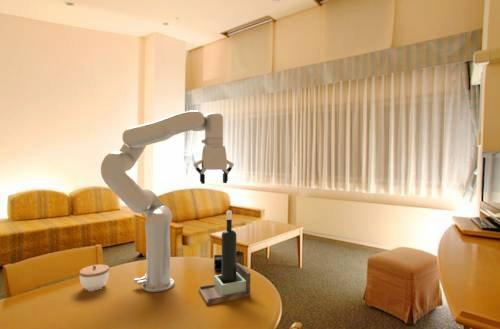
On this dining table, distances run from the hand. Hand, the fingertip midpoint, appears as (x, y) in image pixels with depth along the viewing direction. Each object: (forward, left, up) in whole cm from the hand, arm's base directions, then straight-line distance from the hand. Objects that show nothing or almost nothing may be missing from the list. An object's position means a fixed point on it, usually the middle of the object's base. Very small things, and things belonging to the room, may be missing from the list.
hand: (214, 183), depth 124 cm
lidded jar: (-46, +14, -42) cm, 64 cm away
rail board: (+1, -12, -42) cm, 44 cm away
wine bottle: (+3, -12, -40) cm, 42 cm away
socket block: (+3, -12, -41) cm, 43 cm away
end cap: (+9, +12, -43) cm, 45 cm away
